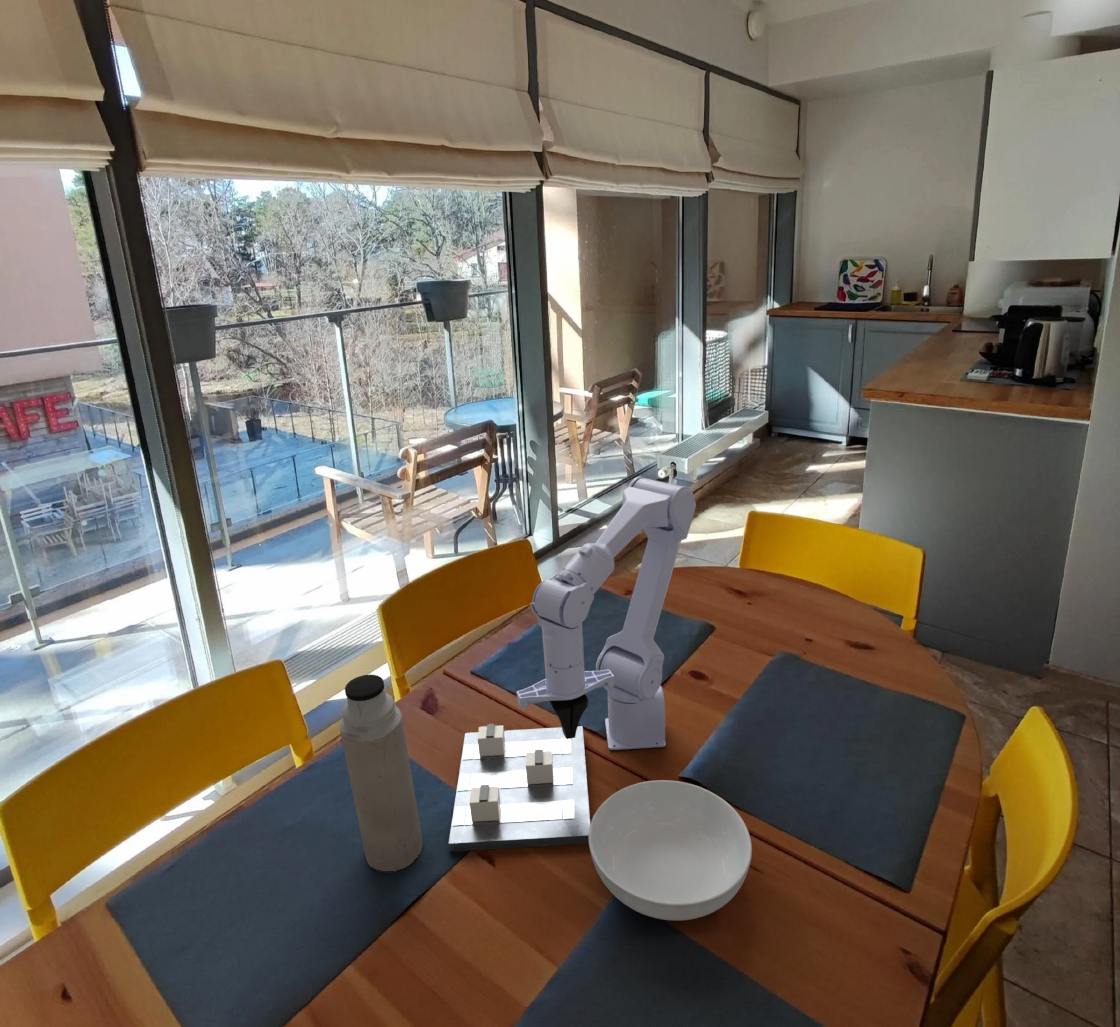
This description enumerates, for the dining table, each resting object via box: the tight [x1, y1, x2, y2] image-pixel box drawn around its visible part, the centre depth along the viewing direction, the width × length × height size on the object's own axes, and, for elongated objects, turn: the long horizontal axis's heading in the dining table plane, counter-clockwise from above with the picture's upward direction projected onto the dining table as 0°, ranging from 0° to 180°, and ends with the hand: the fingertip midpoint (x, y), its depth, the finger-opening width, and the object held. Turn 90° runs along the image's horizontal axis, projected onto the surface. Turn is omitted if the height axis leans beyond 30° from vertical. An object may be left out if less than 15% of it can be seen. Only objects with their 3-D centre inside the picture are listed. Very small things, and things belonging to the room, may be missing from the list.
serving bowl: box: [588, 779, 753, 922], centre depth 98 cm, size 21×21×7 cm
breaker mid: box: [526, 749, 553, 784], centre depth 114 cm, size 4×3×4 cm
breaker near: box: [470, 785, 501, 822], centre depth 108 cm, size 4×3×4 cm
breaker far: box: [478, 723, 505, 756], centre depth 121 cm, size 4×3×4 cm
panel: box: [448, 725, 591, 852], centre depth 115 cm, size 20×24×2 cm
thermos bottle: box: [339, 674, 423, 872], centre depth 100 cm, size 8×8×28 cm
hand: (569, 734), depth 112 cm, fingers closed
